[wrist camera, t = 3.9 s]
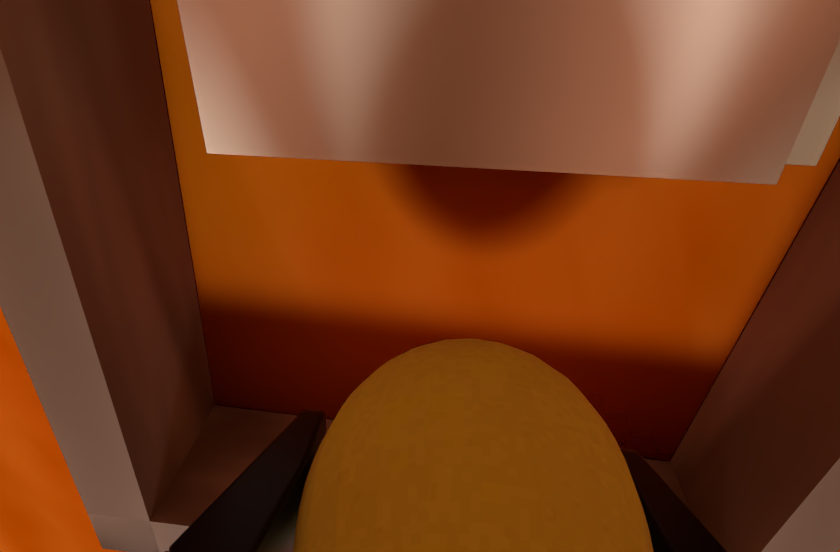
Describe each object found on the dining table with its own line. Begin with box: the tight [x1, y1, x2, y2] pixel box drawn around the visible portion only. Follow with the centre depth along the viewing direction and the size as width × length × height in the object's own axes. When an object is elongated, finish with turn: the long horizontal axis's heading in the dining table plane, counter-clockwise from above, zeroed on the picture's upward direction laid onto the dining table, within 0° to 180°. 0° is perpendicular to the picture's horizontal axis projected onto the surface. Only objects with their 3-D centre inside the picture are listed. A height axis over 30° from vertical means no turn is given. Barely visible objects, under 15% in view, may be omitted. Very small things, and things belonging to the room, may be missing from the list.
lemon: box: [293, 338, 654, 552], centre depth 8 cm, size 6×6×8 cm
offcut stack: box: [177, 0, 840, 184], centre depth 9 cm, size 12×4×3 cm, turn 88°
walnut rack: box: [0, 0, 840, 552], centre depth 10 cm, size 18×18×4 cm
